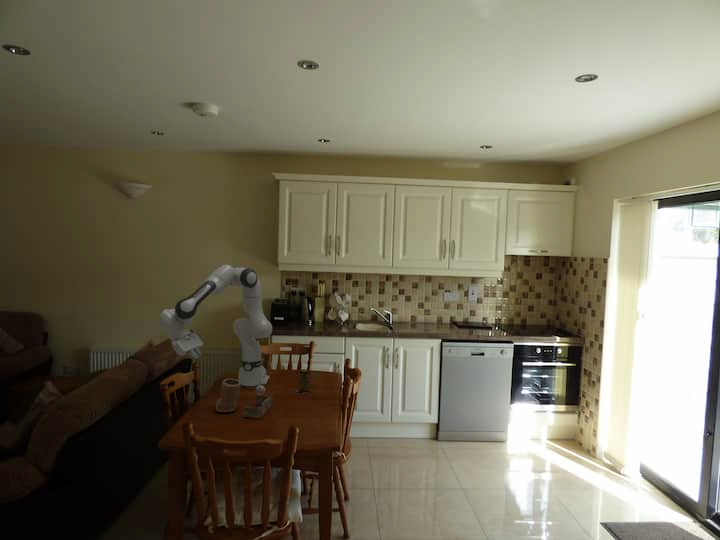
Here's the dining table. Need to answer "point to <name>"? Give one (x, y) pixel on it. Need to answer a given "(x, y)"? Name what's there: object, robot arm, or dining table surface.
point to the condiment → (303, 381)
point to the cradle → (262, 401)
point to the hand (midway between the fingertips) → (198, 356)
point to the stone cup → (228, 395)
